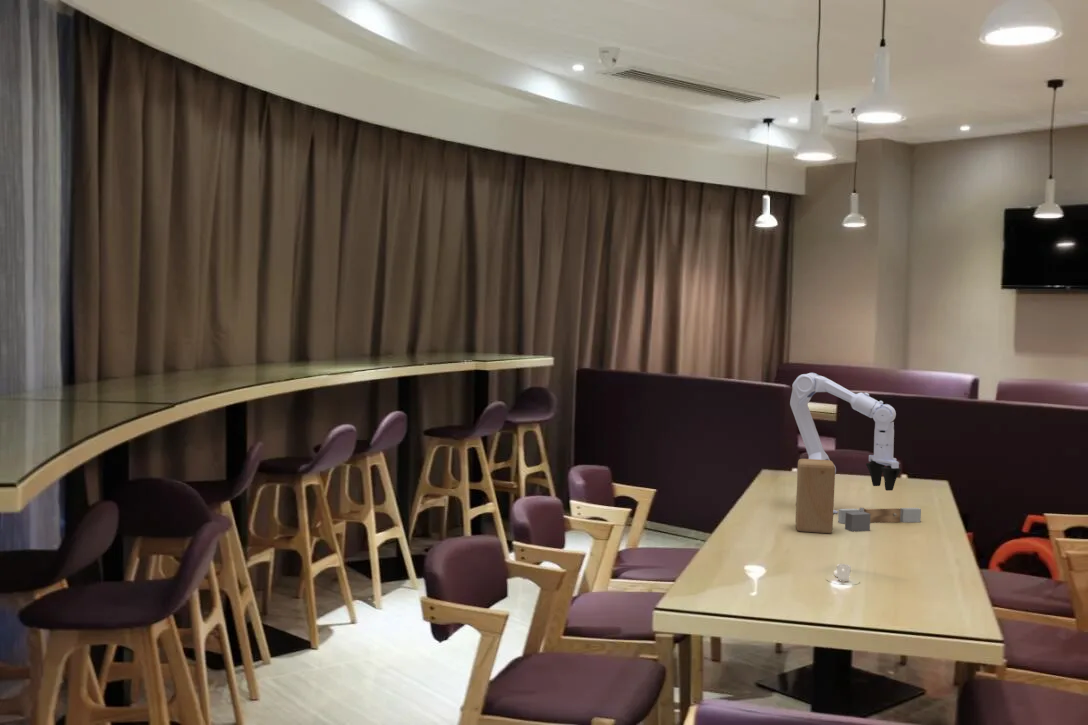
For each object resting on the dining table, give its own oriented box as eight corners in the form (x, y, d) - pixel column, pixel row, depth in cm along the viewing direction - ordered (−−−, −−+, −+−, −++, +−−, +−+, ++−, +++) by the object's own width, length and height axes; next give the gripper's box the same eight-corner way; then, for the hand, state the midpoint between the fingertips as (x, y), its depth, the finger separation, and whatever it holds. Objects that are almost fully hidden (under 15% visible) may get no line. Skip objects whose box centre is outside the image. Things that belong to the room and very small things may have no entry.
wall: (841, 523, 302) (841, 509, 301) (838, 522, 304) (838, 507, 303) (920, 522, 306) (921, 507, 306) (916, 520, 308) (917, 506, 308)
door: (866, 523, 303) (866, 510, 302) (863, 522, 304) (864, 509, 304) (901, 522, 305) (902, 509, 305) (898, 521, 307) (898, 508, 306)
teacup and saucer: (834, 575, 246) (835, 558, 246) (866, 581, 241) (867, 564, 240) (819, 582, 239) (820, 565, 239) (852, 589, 234) (852, 571, 234)
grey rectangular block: (851, 531, 291) (852, 514, 291) (844, 529, 295) (845, 512, 294) (869, 531, 293) (870, 514, 293) (862, 528, 296) (863, 511, 296)
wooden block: (832, 534, 287) (835, 465, 286) (796, 532, 289) (799, 463, 288) (829, 526, 297) (832, 459, 296) (795, 524, 299) (797, 457, 298)
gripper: (908, 447, 302) (907, 492, 303) (883, 440, 316) (882, 483, 317) (886, 447, 301) (885, 492, 302) (862, 441, 315) (861, 484, 316)
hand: (882, 488), depth 309 cm, fingers open, 7 cm apart
